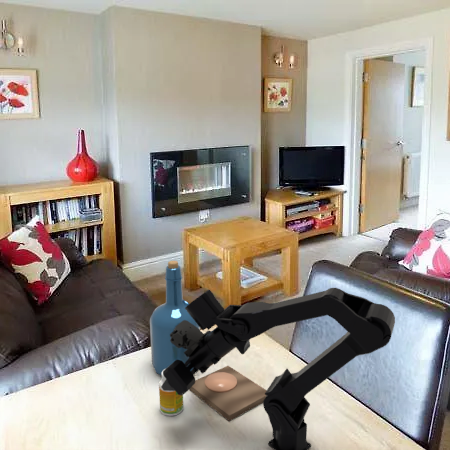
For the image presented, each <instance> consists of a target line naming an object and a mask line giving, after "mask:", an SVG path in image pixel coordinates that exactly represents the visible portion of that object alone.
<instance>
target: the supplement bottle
mask: <svg viewBox="0 0 450 450" xmlns="http://www.w3.org/2000/svg"><path fill="white" fill-rule="evenodd" d="M164 370H165V369H164ZM164 370H163V371H164ZM163 371H162V375H161V379H160V381H159V382H158V389H159V390H158V392H159V393H158V394H159V410H160V412H161V414H163V415H164V416H167V417H169V416H170V417H173V416H177V415H179V414H180V413H182V411H183V410H184V394H183V395H182V396H181V395H178V393H177V392H176V391H164V390H163V389H162V388H161V386H162V385H163V383H164V382H165V380H166V378H165V377H164V375H163Z"/></svg>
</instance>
